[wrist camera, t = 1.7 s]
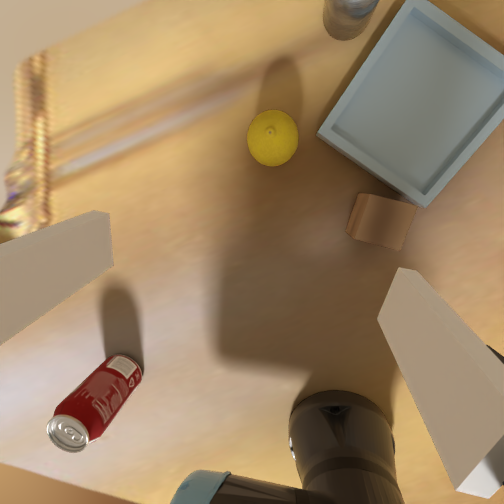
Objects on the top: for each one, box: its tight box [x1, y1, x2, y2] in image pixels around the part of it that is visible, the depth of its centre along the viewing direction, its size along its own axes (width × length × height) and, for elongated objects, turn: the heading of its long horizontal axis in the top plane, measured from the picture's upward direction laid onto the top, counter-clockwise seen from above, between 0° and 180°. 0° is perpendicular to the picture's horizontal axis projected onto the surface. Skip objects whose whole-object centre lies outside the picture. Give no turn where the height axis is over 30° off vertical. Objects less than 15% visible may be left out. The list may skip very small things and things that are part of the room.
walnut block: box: [345, 193, 418, 251], centre depth 31 cm, size 5×5×5 cm
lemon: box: [247, 110, 299, 166], centre depth 29 cm, size 6×6×8 cm
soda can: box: [47, 354, 142, 453], centre depth 38 cm, size 7×7×12 cm
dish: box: [316, 0, 504, 208], centre depth 29 cm, size 15×15×2 cm
